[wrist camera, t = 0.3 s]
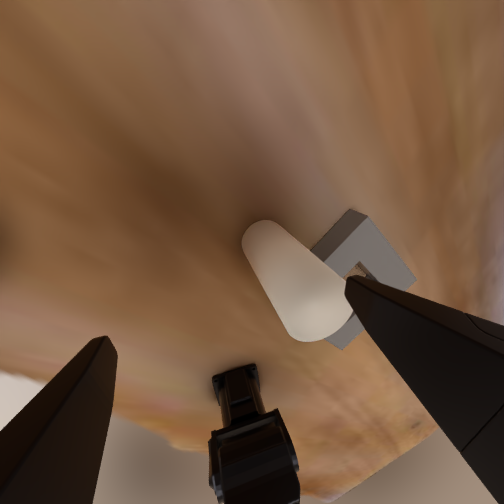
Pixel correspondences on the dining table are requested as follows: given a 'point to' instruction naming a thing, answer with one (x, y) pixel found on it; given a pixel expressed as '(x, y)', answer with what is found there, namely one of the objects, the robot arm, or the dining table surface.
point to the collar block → (360, 262)
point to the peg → (296, 282)
